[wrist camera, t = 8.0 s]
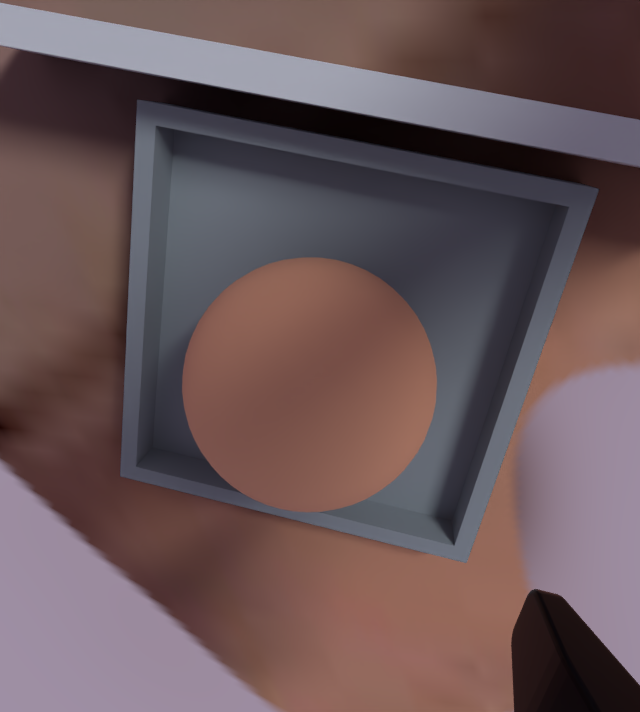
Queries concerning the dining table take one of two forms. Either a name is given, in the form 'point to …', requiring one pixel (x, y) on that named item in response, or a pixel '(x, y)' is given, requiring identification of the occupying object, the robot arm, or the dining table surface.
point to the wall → (325, 85)
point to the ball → (309, 384)
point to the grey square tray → (365, 250)
